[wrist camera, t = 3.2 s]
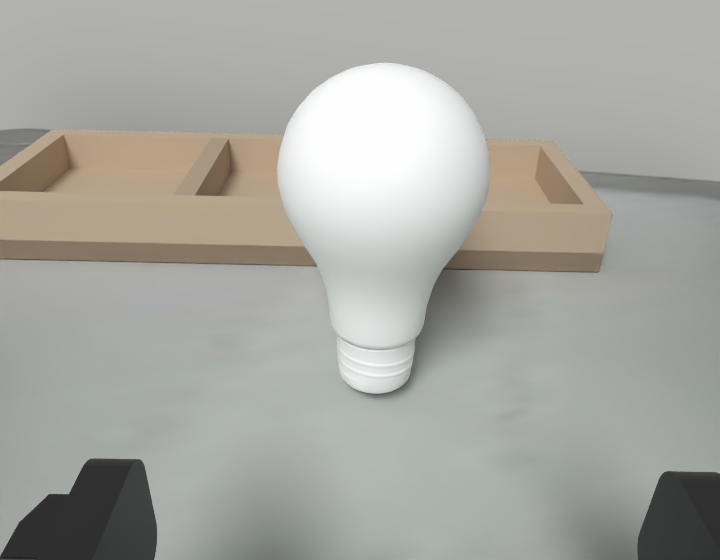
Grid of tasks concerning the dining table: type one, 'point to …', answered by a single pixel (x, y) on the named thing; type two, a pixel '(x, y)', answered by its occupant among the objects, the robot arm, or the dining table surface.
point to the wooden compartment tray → (260, 203)
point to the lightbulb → (382, 205)
